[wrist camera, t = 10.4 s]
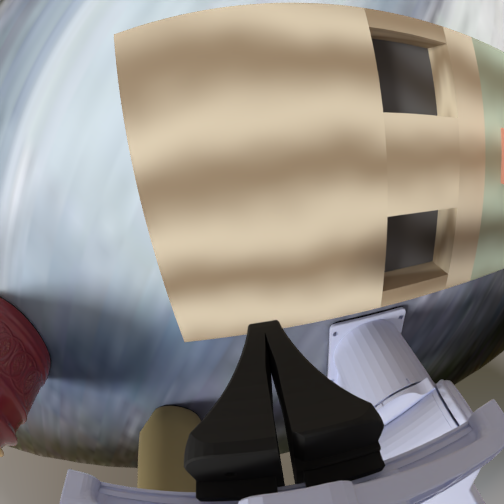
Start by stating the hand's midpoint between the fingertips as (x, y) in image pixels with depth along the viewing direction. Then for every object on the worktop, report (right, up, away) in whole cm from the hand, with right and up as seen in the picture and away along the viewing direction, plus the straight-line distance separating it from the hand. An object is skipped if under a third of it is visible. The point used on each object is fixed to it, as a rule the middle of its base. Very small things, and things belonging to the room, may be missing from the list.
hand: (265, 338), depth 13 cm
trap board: (+10, +11, +6) cm, 16 cm away
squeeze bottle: (-10, -16, +17) cm, 25 cm away
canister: (-29, -6, +11) cm, 32 cm away
